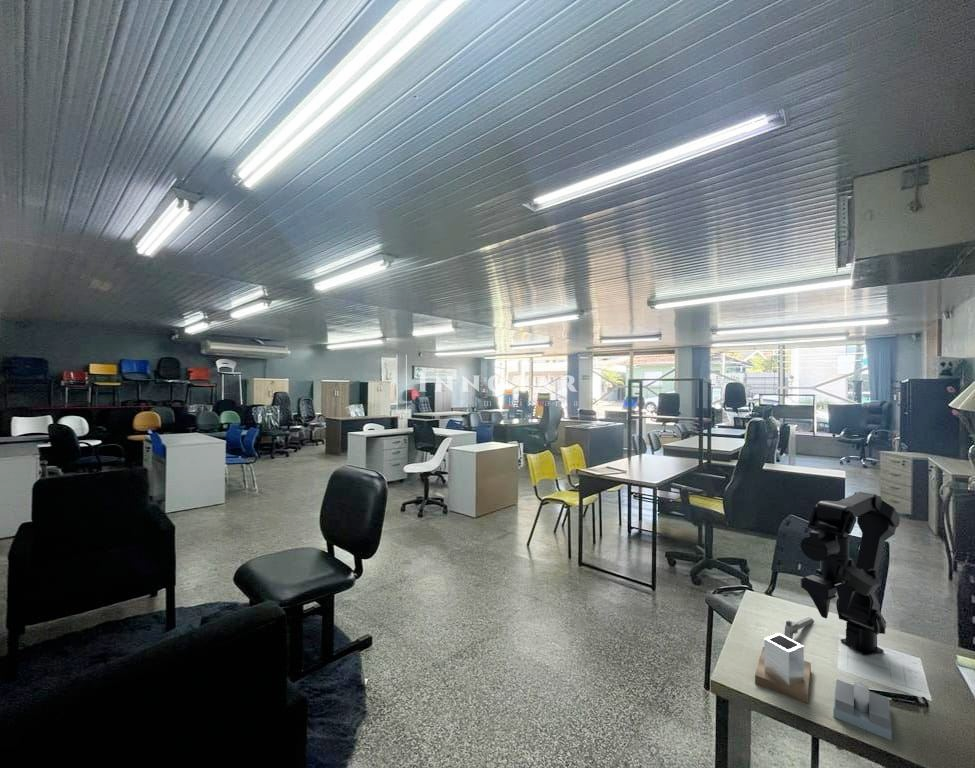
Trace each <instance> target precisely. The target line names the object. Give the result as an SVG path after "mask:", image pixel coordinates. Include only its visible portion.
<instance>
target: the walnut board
mask: <svg viewBox="0 0 975 768" xmlns="http://www.w3.org/2000/svg"><path fill="white" fill-rule="evenodd" d="M811 664H812V663H811V662H809V661H807V660H804V680H802V681H800V682H798V683H796V684H794V685H792V686H790V687H789V686H787V685H785V684H784V683H782V682H781V681H779V680H777V679H776V678H774V677H773V676H771V675H769V674H768V673H766V672H765V670H764V646H762V650H761V653H760V657H759V660H758V663H757V666H756V671H755V674H754V684H756V685H759V686H760V687H764V688H766V689H769V690H770V691H774V692H776V693H779V694H782V695H784V696H786V697H789V698H791V699H794V700H797V701H800V702H803V703H805V704H808V703H809V701H808V700H809V692H810V681H811V671H812V670H811V669H812V665H811Z"/></svg>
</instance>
